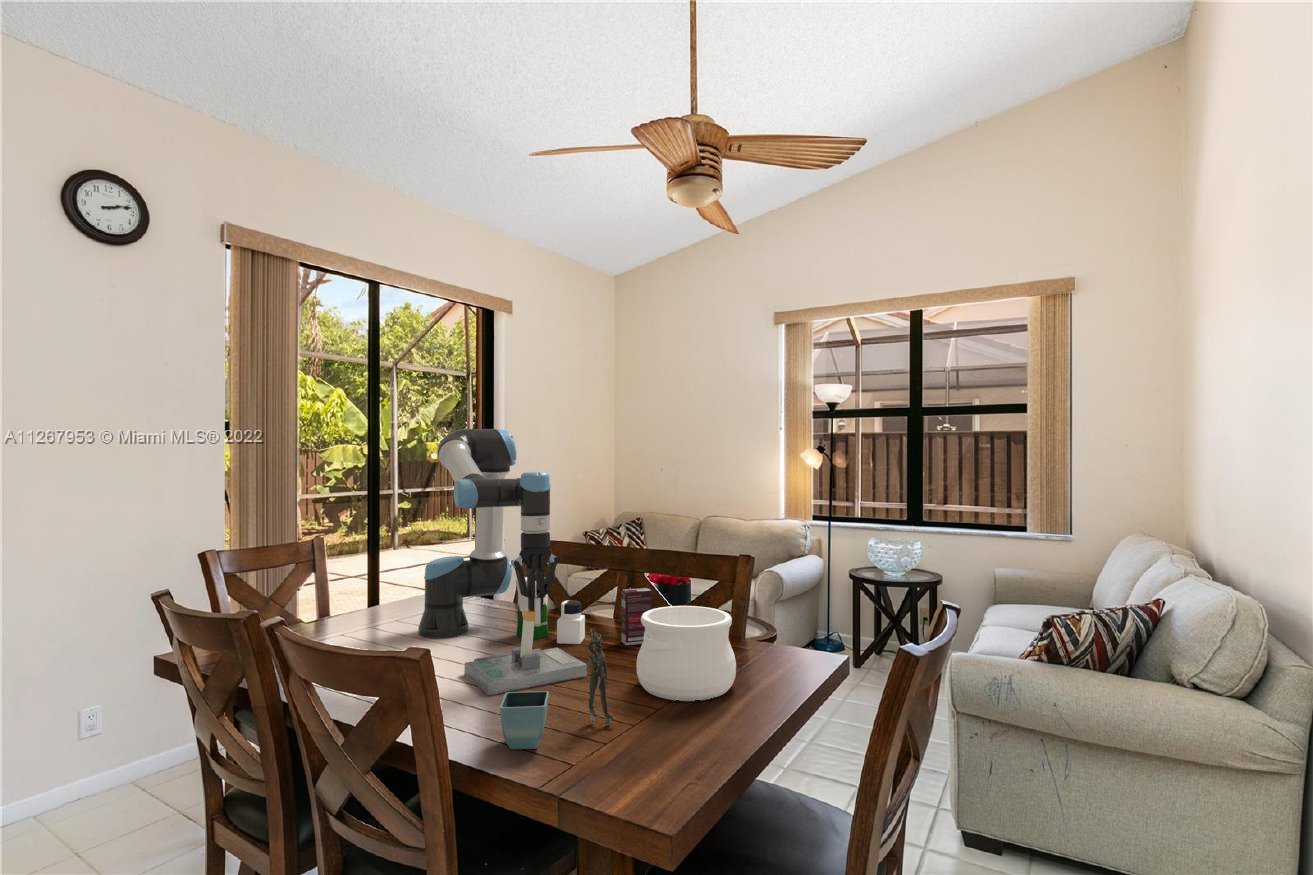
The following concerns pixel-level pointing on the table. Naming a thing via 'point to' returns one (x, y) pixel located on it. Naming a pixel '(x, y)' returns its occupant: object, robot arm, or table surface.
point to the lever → (527, 632)
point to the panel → (524, 670)
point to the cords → (500, 655)
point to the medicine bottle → (571, 623)
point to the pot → (686, 653)
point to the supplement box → (634, 614)
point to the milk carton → (539, 629)
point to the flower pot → (523, 718)
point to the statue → (598, 676)
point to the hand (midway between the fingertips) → (535, 622)
